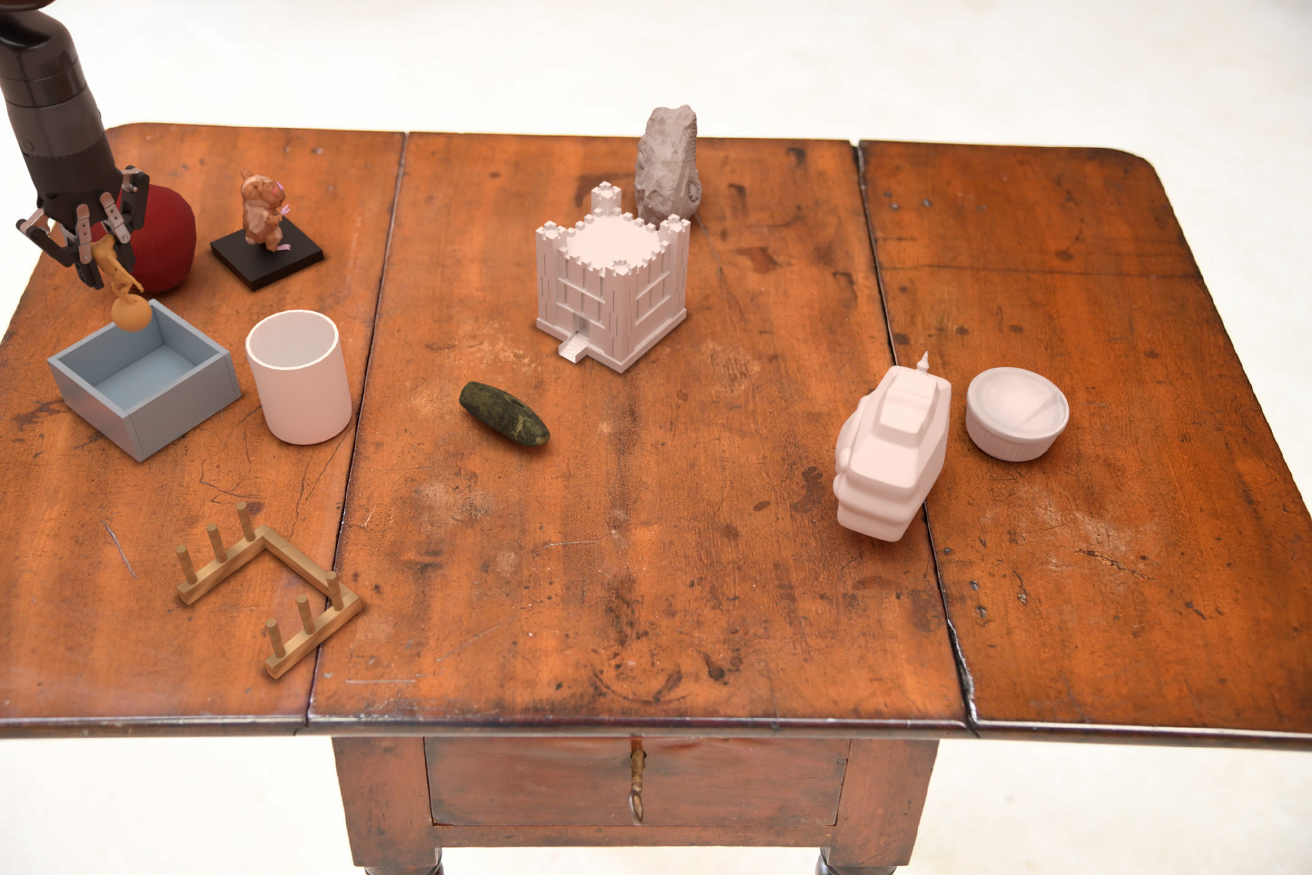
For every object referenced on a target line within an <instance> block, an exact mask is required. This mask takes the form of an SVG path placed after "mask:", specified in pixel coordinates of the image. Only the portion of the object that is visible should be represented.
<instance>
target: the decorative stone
mask: <svg viewBox="0 0 1312 875" xmlns="http://www.w3.org/2000/svg"><path fill="white" fill-rule="evenodd" d="M458 402H459V404H460V406H461V407H462V408H463V409H464V410H466V412H467V413H469V414H470V415H471V416H473V417H474V418H476V419H478V420H479V421H480V422H482V423H484V424H485V425H487V426H489V427H491V428H492V429H495V430H496V431H498V432H499V433H501V434H502V435H504V436H505V437H507V438H508V439H510V440H511V441H514V443H517V444H519V445H521V446H524V447H528V448H537V447H540V446H546V445H548V444H549V442H550V439H551V432H550V430H549V429H548V427H547V426H546V424H545V422H544V421H543V420H542V419H541V418H540V417H539V415H538V414H537V413H536V412H535V411H534V410H533V409H532V408H531V407H530V406H528V405H527V404H526V403H525V402H523V401H522V400H520V398H518V397H516V396H514V395H512V394H511V393H510V392H509V393H508V392H506V391H504V390H503V389H500V388H497V387H495V386H492V385H490V384H486V383H482V382H478V381H474V380H470V381H468V382H467V383H466V384H465V385H464V386H463V388H462V389H461V392H460V394H459V397H458Z"/></svg>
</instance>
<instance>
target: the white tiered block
mask: <svg viewBox="0 0 1312 875" xmlns="http://www.w3.org/2000/svg"><path fill="white" fill-rule="evenodd" d="M928 353H929V351H927V350H926V351H925V352H924V354H923V355H922V357H921V359H920V360H919V361H918V362H917V363H916V369H914V368H910V367H906V366H901V365H892V366H891V367H890V368H888V370H887V372H886V373H885V374H884V376H883V378H882V379H881V381H880V382H879V384H878V385H877V387H876V388H875V390H873V391H871V392H870V393H869V394H867V395H864V396H862V397H861V398H860V399H859V401H858V404H857V407H856V410H855V411H853V413H852V414H851V415H849V417H848V418H847V419H846V420H845V422H844V423H843V425H842V426H841V429H840V431H839V434H838V436H837V442H836V445H835V451H834V452H835V453H834V458H835V464H834V471H835V477H834V479H833V482H832V491H833V495H834V496H835V497H836V498H837V500H838V507H837V513H836V519H837V522H838V523H839V525H841V526H843V527H844V528H846V529H849V530H852V531H854V532H857V533H860V534H863V535H865V536H869V537H872V538H875V539H879V540H883V541H886V542H891V543H894V542H898V541H900V539H902V537H903V536H904V534H905V532H906V530H907V529H908V527H909V526H910V525H911V523H912V521H913V519H914V517H915V516H916V514H917V513H918V511H919V509H920V508H921V507H922V505H923V503H924V501H925V500H926V498H927V496H928V495H929V493H930V491H931V489H932V488H933V486H934V485H935V483H936V481H937V479H938V478H939V476H940V474H941V472H942V470H943V466H944V463H945V458H946V451H947V444H948V437H949V432H950V431H949V430H950V416H951V415H950V413H951V403H952V384H951V382H950V381H949V380H947V379H945V378H942V377H941V376H937V375H934V374H931V373H928V372H927V371H928V370H929V368H930V365H929V360H928V357H929V354H928Z"/></svg>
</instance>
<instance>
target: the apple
mask: <svg viewBox="0 0 1312 875" xmlns="http://www.w3.org/2000/svg"><path fill="white" fill-rule="evenodd" d="M121 195H122V187H121V189H120V193H119V196H118V199H117V202H116V206H117V208H118V210H119V212H120V204H121ZM195 216H196V215H195V214H194V211H193V208H192V206H191V205H190V203H189V202H188V201H187V200H186V199H185V198H184V197H183V196H182V194H180V193H179V192H177V191H176V190H174V189H171V187H168V186H167V187H166V186H162V185H157V184H152V183H149V190H148V198H147V205H146V213H145V221H144V226H143V228H142V229H140V230H135V231H134V232H133V233H132V234H131V235H130V236H131V237H130V243H131V246H132V249H133V252H134V255H135V258H136V262H135V264H134V265H133V268H134V271H133V272H131V273H129V274H130V275H131V276H132V277H133V278H134V279H135V280H136V281H137V282H138V283H139V284H141V286H142V287H143V288H144V289H143V291H144V292H147V293H150V294H151V293H153V294H158V293H164V292H167V291H170V290H172V289H173V288H175V287H176V286H178V284H179V283H181V282H182V281H183V280H184V279H185V278H186V277H187V276H188V275H189V274H190V273H191V271H192V268H193V264H194V259H195V252H196V246H197V242H198V236H197V235H198V234H197V225H196V217H195ZM90 230H91V236H92V241H91V242H90V243H93V242H97V241H99V240H101V239H102V238H103V237H104V236H105V235H107V234H108V233H107V232H106V231H105V229H104V227H103V226H102V224H101V222H97V223H95V224H94V225H93V226H92V227H91V228H90ZM130 288H133V289H136V290H139V289H138V287H137V286H136V285H135V284H134V283H133V284H132V286H131V287H130ZM143 291H142V292H143Z"/></svg>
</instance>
